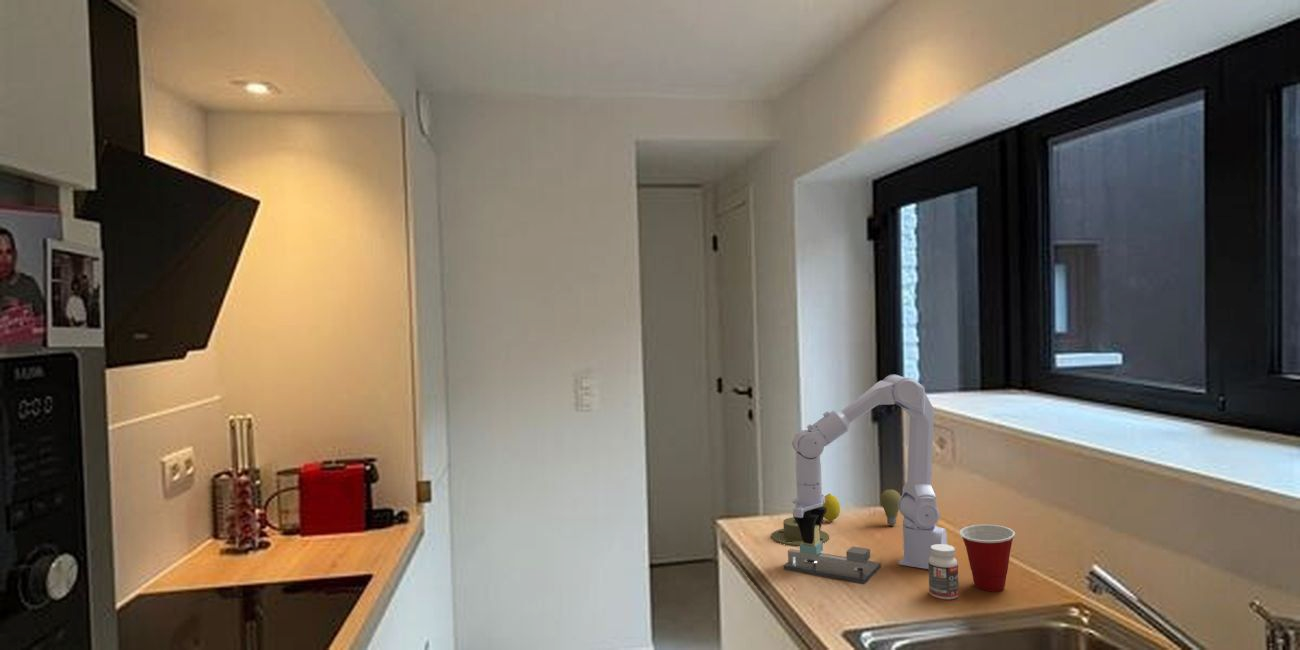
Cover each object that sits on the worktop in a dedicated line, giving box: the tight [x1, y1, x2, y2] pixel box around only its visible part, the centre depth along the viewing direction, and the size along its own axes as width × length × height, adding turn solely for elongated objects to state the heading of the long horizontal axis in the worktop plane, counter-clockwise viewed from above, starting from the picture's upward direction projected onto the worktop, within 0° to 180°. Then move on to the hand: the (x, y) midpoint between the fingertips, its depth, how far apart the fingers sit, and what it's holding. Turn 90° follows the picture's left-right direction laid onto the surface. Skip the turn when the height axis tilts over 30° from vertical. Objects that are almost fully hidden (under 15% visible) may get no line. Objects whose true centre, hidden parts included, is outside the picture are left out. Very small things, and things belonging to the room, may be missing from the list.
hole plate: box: [783, 552, 882, 585], centre depth 168 cm, size 19×12×1 cm, turn 56°
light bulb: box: [879, 488, 902, 527], centre depth 199 cm, size 6×6×10 cm
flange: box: [770, 516, 830, 547], centre depth 192 cm, size 5×15×15 cm
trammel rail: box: [787, 546, 871, 575], centre depth 166 cm, size 19×4×5 cm, turn 56°
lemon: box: [822, 493, 841, 523], centre depth 205 cm, size 6×6×8 cm
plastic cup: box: [959, 524, 1016, 592], centre depth 154 cm, size 11×11×12 cm
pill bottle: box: [928, 544, 960, 600], centre depth 150 cm, size 6×6×10 cm
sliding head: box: [799, 525, 824, 561], centre depth 169 cm, size 4×4×9 cm
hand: (810, 540), depth 169 cm, fingers closed on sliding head, 3 cm apart
